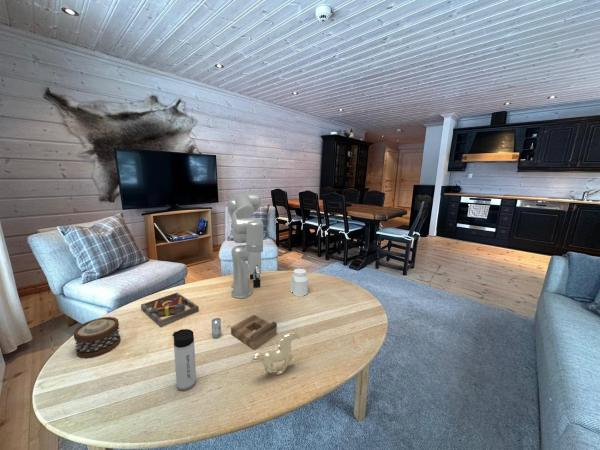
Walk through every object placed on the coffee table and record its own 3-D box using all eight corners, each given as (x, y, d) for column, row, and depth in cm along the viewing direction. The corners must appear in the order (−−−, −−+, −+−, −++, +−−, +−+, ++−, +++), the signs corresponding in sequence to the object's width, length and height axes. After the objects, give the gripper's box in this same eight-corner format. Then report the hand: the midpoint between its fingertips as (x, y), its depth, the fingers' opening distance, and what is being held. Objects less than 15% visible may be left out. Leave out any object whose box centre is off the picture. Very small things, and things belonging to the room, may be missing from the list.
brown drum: (113, 329, 97) (64, 338, 91) (116, 353, 99) (68, 363, 93) (123, 311, 110) (81, 317, 104) (125, 332, 112) (84, 339, 106)
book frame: (141, 309, 132) (140, 304, 131) (177, 297, 147) (177, 292, 146) (160, 327, 117) (160, 321, 116) (198, 311, 132) (198, 306, 131)
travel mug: (180, 376, 89) (176, 327, 85) (198, 376, 89) (196, 327, 86) (172, 391, 83) (168, 339, 79) (192, 390, 83) (189, 338, 79)
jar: (309, 295, 155) (310, 273, 152) (295, 297, 151) (296, 275, 148) (301, 287, 165) (302, 267, 162) (288, 290, 161) (289, 268, 158)
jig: (231, 334, 113) (230, 323, 112) (253, 321, 124) (253, 310, 123) (253, 350, 104) (253, 337, 103) (276, 334, 115) (276, 323, 114)
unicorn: (252, 387, 85) (251, 344, 82) (248, 379, 89) (248, 337, 86) (301, 368, 95) (303, 328, 92) (296, 361, 98) (298, 323, 95)
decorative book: (154, 308, 134) (153, 300, 133) (186, 302, 140) (185, 294, 139) (150, 319, 124) (149, 310, 123) (185, 313, 130) (184, 304, 129)
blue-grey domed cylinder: (210, 336, 112) (209, 320, 110) (218, 332, 115) (217, 317, 113) (215, 340, 109) (214, 324, 108) (223, 335, 112) (222, 320, 111)
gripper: (244, 243, 117) (244, 277, 120) (249, 254, 101) (249, 292, 104) (259, 242, 120) (259, 275, 123) (266, 252, 104) (266, 290, 107)
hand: (254, 283), depth 114 cm, fingers open, 9 cm apart
